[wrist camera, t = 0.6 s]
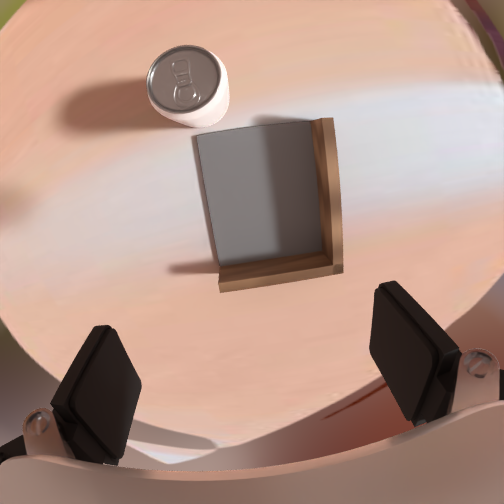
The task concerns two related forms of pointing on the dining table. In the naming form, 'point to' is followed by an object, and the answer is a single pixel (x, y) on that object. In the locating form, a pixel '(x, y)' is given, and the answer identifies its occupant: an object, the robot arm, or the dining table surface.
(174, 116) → the can
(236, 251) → the mat
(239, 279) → the corner walls
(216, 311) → the dining table surface
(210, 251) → the dining table surface
